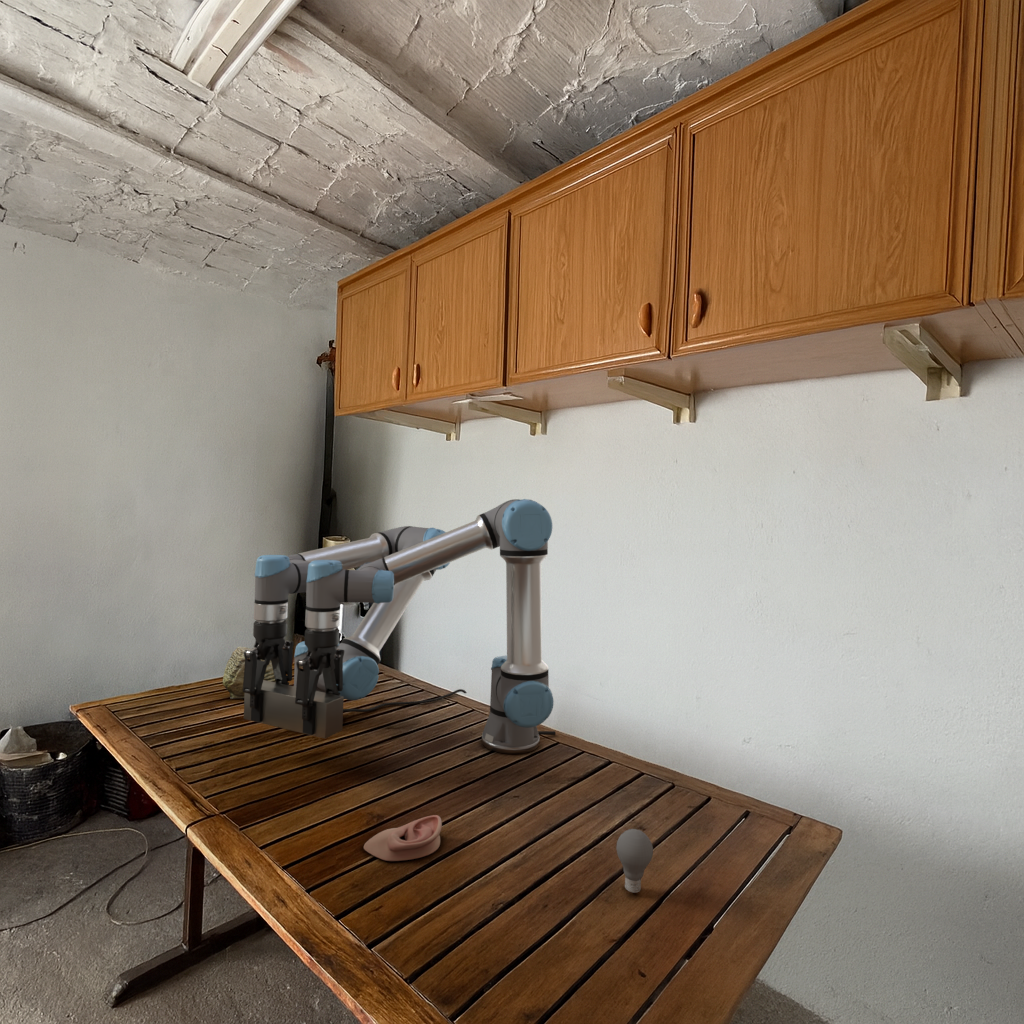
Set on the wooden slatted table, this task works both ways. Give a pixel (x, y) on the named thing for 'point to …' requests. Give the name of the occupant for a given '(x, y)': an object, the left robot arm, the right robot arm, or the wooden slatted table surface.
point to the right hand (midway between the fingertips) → (318, 728)
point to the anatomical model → (407, 840)
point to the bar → (297, 709)
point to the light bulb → (634, 857)
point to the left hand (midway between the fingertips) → (267, 716)
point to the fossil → (240, 673)
